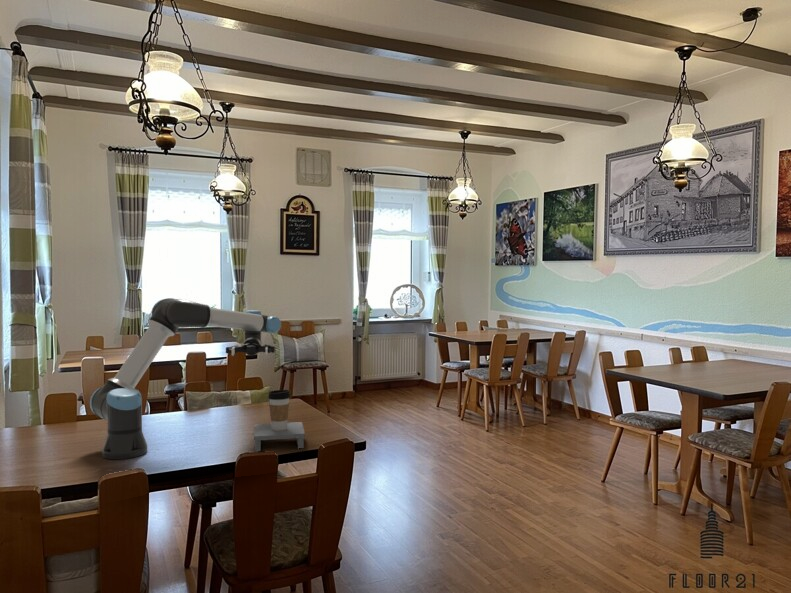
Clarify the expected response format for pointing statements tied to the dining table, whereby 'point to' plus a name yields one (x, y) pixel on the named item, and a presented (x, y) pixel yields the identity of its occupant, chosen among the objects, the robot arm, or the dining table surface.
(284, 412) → the coffee cup
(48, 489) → the dining table surface
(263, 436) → the bridge shelf
